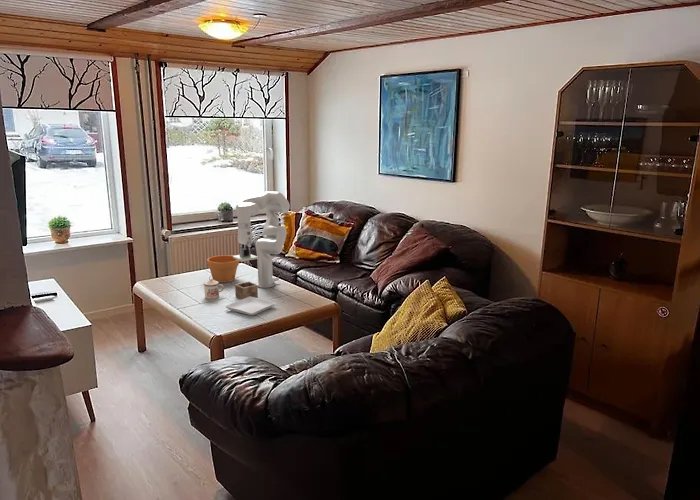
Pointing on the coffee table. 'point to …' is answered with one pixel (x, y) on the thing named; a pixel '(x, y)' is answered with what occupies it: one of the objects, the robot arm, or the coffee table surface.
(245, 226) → the robot arm
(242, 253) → the lid
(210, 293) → the teacup with lid
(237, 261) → the flower pot
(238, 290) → the crate
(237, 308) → the salad plate
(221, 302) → the coffee table surface
